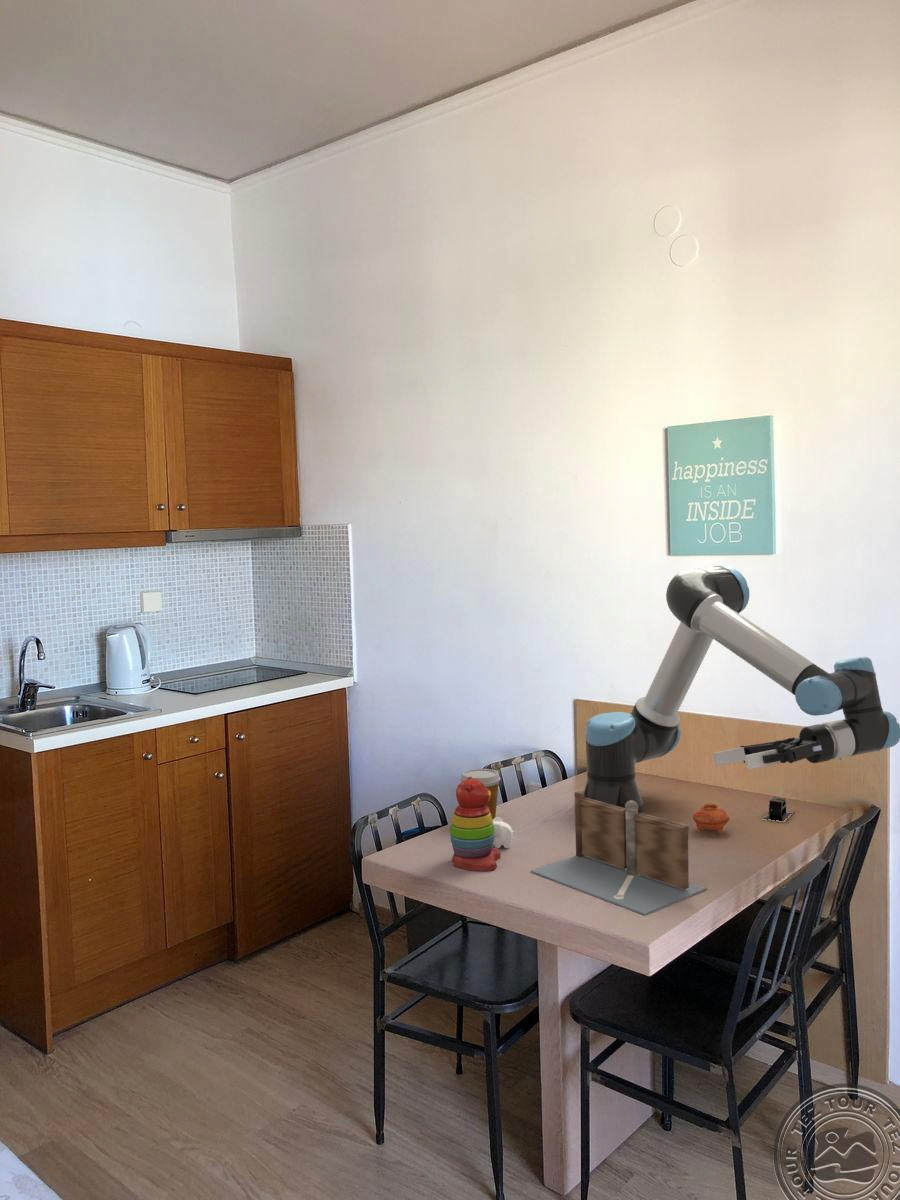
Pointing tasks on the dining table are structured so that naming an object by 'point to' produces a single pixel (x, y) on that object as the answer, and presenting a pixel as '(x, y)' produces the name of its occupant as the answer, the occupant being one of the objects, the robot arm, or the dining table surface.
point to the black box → (777, 809)
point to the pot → (710, 818)
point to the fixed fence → (606, 832)
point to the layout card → (616, 884)
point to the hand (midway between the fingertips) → (730, 760)
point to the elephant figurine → (502, 833)
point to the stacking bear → (473, 828)
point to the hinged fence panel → (662, 850)
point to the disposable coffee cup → (486, 784)
